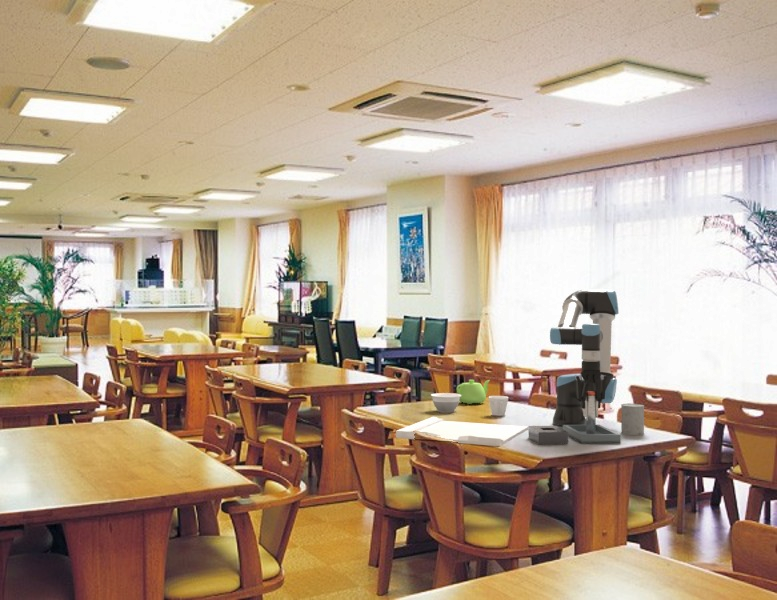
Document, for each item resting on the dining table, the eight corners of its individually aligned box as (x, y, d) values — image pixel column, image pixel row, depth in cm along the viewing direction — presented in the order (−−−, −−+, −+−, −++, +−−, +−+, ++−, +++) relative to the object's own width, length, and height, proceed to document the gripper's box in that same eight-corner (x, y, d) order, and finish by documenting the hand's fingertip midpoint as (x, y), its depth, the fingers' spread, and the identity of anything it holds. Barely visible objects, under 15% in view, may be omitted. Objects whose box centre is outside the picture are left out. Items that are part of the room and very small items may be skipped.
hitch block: (528, 437, 334) (528, 425, 334) (556, 437, 335) (556, 425, 335) (538, 444, 318) (538, 432, 318) (568, 444, 319) (568, 432, 319)
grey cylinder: (645, 435, 340) (645, 406, 340) (622, 434, 342) (622, 406, 342) (642, 431, 349) (642, 403, 349) (620, 431, 351) (620, 403, 351)
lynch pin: (584, 432, 336) (584, 391, 336) (593, 432, 336) (593, 391, 336) (587, 434, 332) (587, 392, 332) (597, 433, 332) (597, 392, 332)
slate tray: (562, 432, 346) (562, 424, 346) (598, 432, 348) (598, 424, 347) (581, 443, 320) (581, 435, 320) (620, 443, 322) (620, 434, 322)
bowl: (467, 411, 411) (467, 395, 411) (445, 414, 401) (445, 397, 401) (446, 408, 423) (446, 392, 423) (424, 411, 413) (424, 394, 413)
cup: (506, 417, 392) (506, 398, 391) (486, 416, 395) (486, 397, 395) (510, 414, 401) (510, 396, 401) (490, 413, 404) (490, 395, 404)
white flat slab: (528, 430, 356) (528, 422, 356) (500, 447, 315) (500, 438, 315) (434, 423, 375) (434, 416, 375) (396, 439, 334) (396, 430, 334)
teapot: (483, 400, 456) (483, 377, 456) (497, 403, 442) (497, 380, 442) (449, 402, 447) (449, 379, 447) (462, 406, 433) (462, 381, 433)
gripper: (573, 361, 329) (573, 417, 330) (613, 361, 331) (613, 417, 331) (568, 359, 337) (568, 415, 337) (607, 359, 338) (607, 414, 338)
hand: (590, 416), depth 334 cm, fingers closed on lynch pin, 4 cm apart
